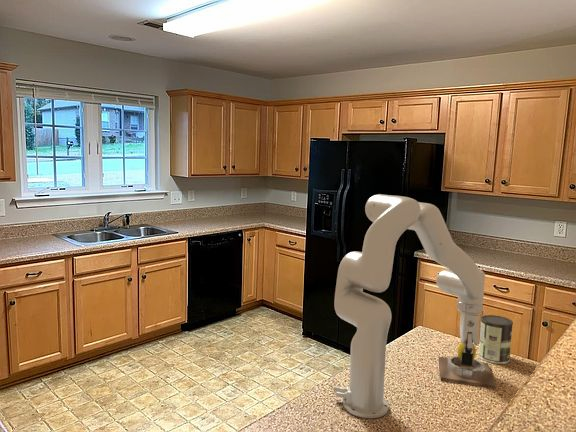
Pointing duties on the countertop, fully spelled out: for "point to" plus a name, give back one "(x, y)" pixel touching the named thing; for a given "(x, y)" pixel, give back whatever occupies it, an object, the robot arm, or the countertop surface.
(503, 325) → the coffee can
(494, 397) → the countertop surface
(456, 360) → the steel ring
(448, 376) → the walnut board
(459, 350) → the lemon
